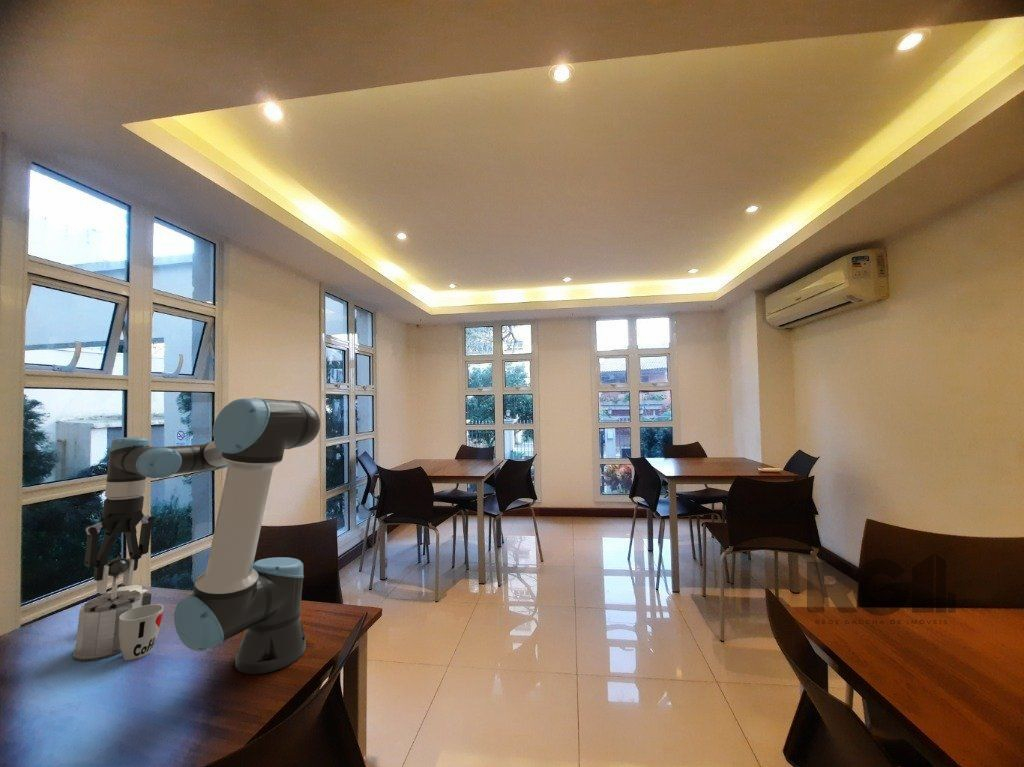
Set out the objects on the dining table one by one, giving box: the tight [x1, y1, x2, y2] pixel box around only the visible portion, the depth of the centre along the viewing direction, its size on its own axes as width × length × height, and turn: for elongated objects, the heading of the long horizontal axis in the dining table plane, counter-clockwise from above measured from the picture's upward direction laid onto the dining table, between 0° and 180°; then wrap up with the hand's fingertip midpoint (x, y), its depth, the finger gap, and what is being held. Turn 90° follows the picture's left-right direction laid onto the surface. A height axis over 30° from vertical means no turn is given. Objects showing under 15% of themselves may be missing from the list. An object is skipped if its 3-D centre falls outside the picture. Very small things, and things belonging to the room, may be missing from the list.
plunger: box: [106, 557, 129, 609], centre depth 101 cm, size 9×9×20 cm
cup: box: [119, 603, 165, 661], centre depth 98 cm, size 8×8×10 cm
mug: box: [104, 584, 149, 594], centre depth 111 cm, size 8×9×9 cm
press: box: [72, 590, 152, 662], centre depth 101 cm, size 12×14×12 cm
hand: (114, 588), depth 101 cm, fingers closed on plunger, 4 cm apart
